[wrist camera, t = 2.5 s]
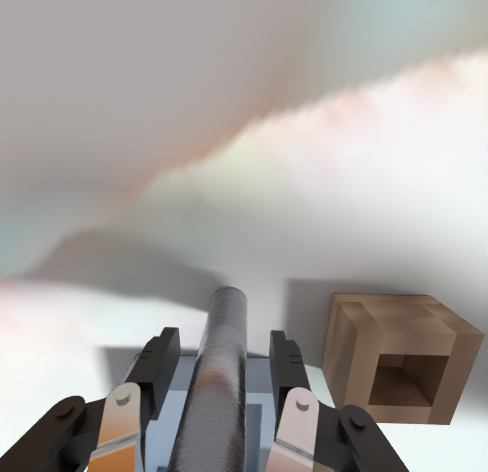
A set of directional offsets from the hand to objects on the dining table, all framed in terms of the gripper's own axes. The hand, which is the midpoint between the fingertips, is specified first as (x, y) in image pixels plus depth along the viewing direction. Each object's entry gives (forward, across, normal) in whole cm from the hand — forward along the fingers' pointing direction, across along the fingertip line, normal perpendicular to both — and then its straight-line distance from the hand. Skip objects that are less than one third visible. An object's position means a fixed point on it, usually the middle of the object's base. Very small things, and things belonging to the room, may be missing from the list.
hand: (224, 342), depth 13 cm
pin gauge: (+4, 0, 0) cm, 4 cm away
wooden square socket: (+4, -11, +2) cm, 12 cm away
